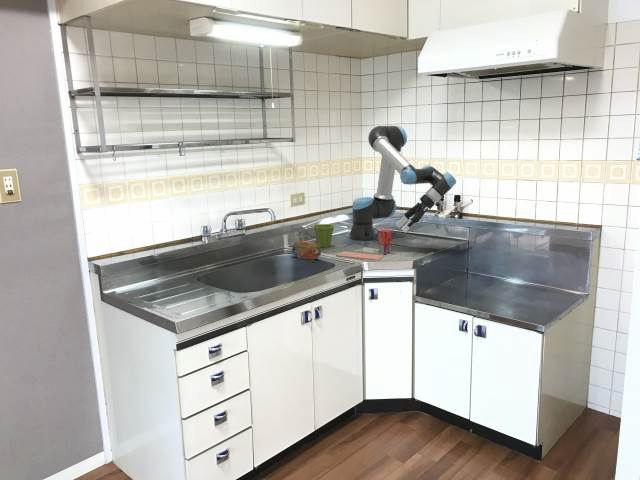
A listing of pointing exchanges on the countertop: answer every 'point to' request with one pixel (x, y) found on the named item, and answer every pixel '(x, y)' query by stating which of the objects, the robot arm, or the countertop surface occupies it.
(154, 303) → the countertop surface
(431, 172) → the robot arm
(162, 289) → the countertop surface
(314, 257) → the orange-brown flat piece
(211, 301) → the countertop surface
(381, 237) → the cup
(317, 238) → the plant pot
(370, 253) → the pink thin bar
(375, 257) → the mat
